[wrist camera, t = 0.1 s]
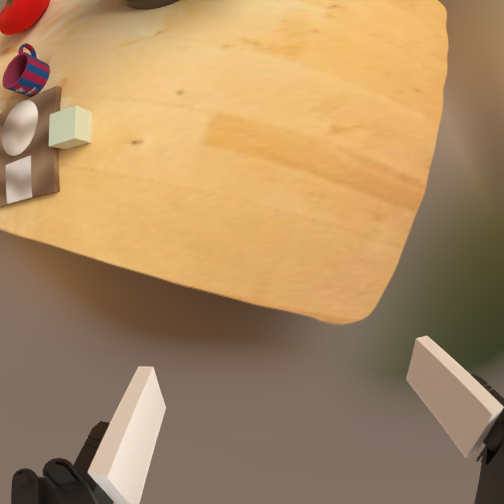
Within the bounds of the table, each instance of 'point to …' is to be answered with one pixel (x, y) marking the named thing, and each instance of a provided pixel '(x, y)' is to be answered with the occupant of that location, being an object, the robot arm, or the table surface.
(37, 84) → the mug
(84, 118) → the pale sage green cube
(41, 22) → the table surface
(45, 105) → the board
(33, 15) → the tomato
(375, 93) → the table surface
